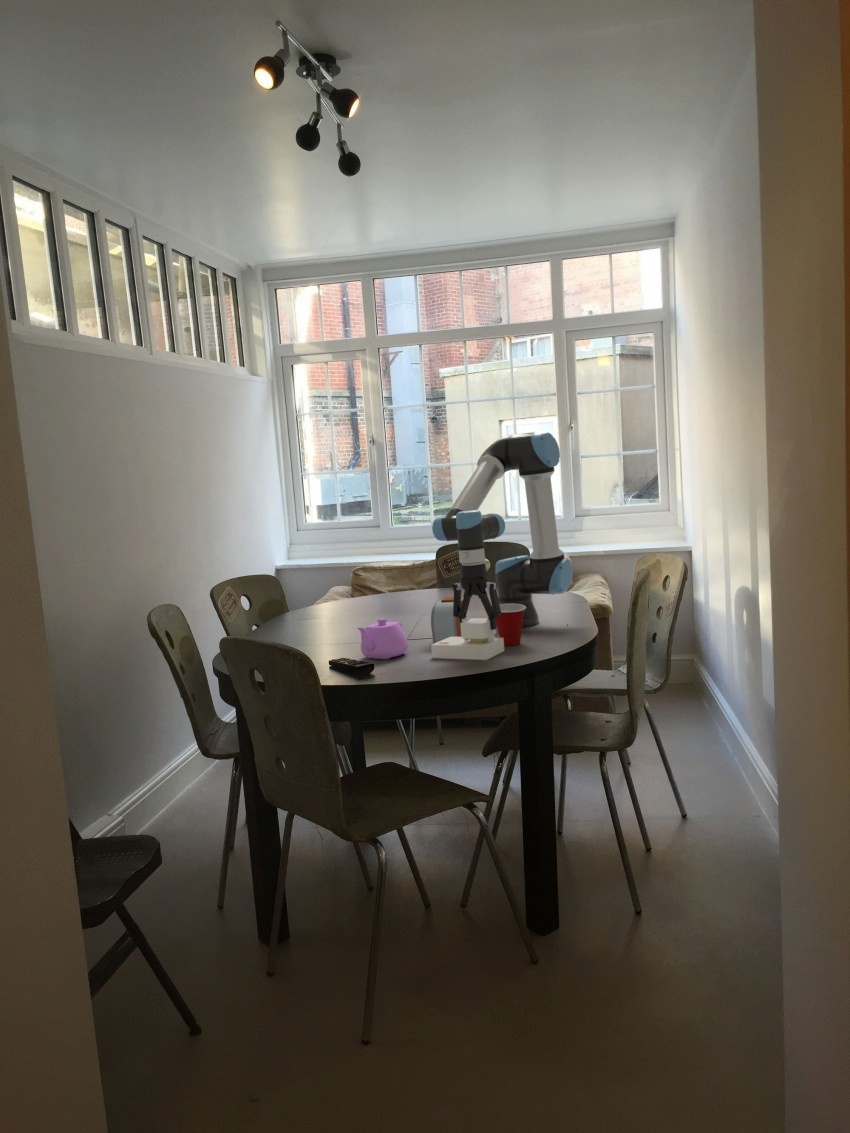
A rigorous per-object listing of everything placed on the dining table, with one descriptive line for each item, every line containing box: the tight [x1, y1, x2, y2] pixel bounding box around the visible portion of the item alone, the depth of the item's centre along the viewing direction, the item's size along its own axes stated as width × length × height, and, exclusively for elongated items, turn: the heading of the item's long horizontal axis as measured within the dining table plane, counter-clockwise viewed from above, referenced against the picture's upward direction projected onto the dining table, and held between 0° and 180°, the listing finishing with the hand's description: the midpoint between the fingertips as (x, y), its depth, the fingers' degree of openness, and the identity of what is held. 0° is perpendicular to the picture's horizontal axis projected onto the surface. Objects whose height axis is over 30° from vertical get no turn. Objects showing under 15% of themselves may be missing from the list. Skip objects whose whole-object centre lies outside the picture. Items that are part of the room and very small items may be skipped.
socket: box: [430, 637, 505, 661], centre depth 266 cm, size 12×18×4 cm, turn 59°
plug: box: [460, 617, 497, 644], centre depth 264 cm, size 8×8×8 cm
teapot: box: [357, 617, 409, 661], centre depth 273 cm, size 20×13×12 cm, turn 142°
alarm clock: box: [430, 596, 467, 644], centre depth 289 cm, size 15×8×14 cm, turn 164°
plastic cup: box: [496, 604, 526, 647], centre depth 275 cm, size 11×11×12 cm
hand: (479, 640), depth 264 cm, fingers closed on plug, 7 cm apart
